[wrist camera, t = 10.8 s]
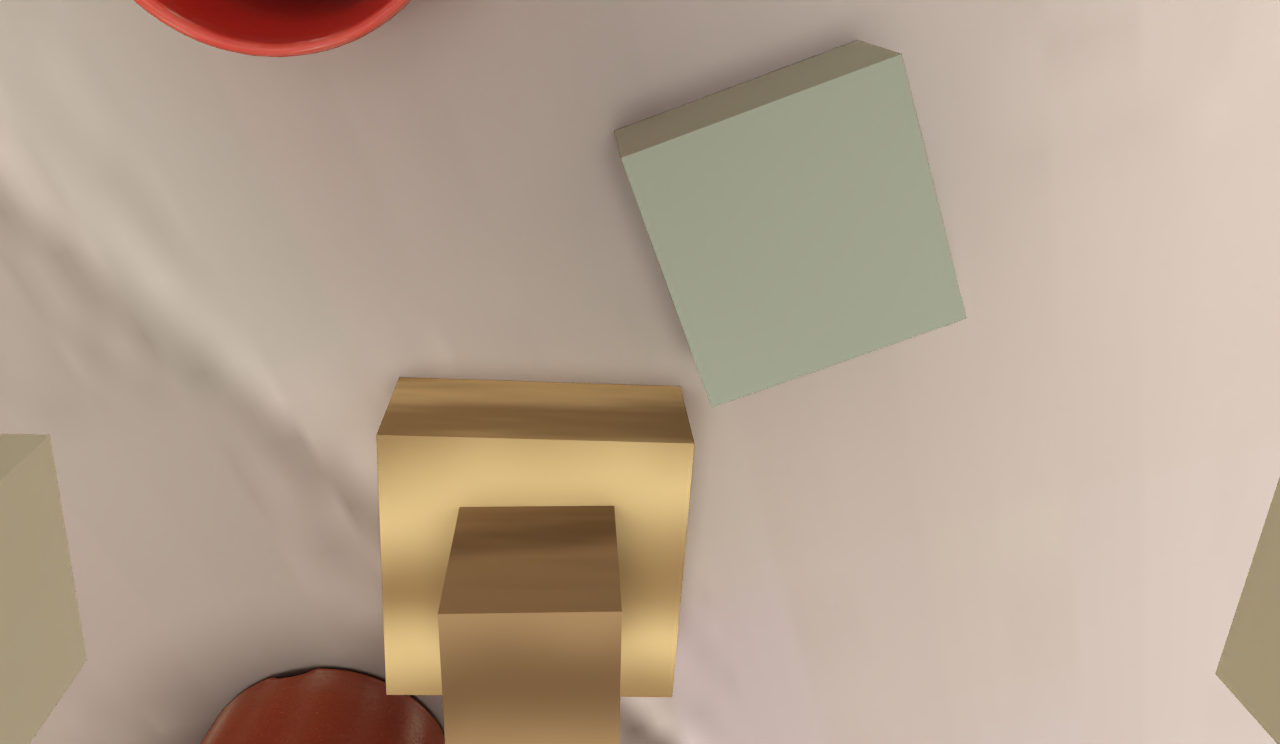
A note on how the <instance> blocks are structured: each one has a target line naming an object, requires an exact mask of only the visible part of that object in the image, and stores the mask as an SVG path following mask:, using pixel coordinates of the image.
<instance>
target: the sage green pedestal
mask: <svg viewBox="0 0 1280 744" xmlns="http://www.w3.org/2000/svg"><path fill="white" fill-rule="evenodd" d="M614 133H615V137H616V141H617V145H618V149H619V153H620V157H621V160H622V163H623V166H624V168H625V171H626V174H627V177H628V179H629V182H630V185H631V188H632V190H633V193H634V196H635V199H636V201H637V204H638V207H639V210H640V212H641V215H642V218H643V221H644V223H645V226H646V229H647V232H648V234H649V237H650V240H651V243H652V245H653V248H654V251H655V253H656V256H657V259H658V262H659V264H660V267H661V270H662V273H663V275H664V278H665V281H666V284H667V286H668V289H669V292H670V295H671V297H672V300H673V303H674V306H675V308H676V311H677V314H678V317H679V319H680V322H681V325H682V328H683V330H684V333H685V336H686V339H687V341H688V344H689V347H690V350H691V352H692V355H693V358H694V361H695V363H696V366H697V369H698V372H699V374H700V377H701V380H702V383H703V385H704V388H705V391H706V394H707V396H708V399H709V402H710V405H711V407H715V406H718V405H721V404H724V403H726V402H729V401H732V400H735V399H738V398H741V397H744V396H746V395H749V394H752V393H755V392H758V391H761V390H764V389H766V388H769V387H772V386H775V385H778V384H781V383H783V382H786V381H789V380H792V379H795V378H798V377H801V376H803V375H806V374H809V373H812V372H815V371H818V370H821V369H823V368H826V367H829V366H832V365H835V364H838V363H840V362H843V361H846V360H849V359H852V358H855V357H858V356H860V355H863V354H866V353H869V352H872V351H875V350H878V349H880V348H883V347H886V346H889V345H892V344H895V343H897V342H900V341H903V340H906V339H909V338H912V337H915V336H917V335H920V334H923V333H926V332H929V331H932V330H935V329H937V328H940V327H943V326H946V325H949V324H952V323H954V322H957V321H960V320H963V319H966V314H965V310H964V305H963V301H962V297H961V293H960V289H959V285H958V281H957V277H956V273H955V269H954V265H953V261H952V257H951V253H950V249H949V245H948V241H947V237H946V233H945V229H944V225H943V220H942V216H941V212H940V208H939V204H938V200H937V196H936V192H935V188H934V184H933V180H932V176H931V172H930V168H929V164H928V160H927V156H926V152H925V148H924V144H923V140H922V136H921V131H920V127H919V123H918V119H917V115H916V111H915V107H914V103H913V99H912V95H911V91H910V87H909V83H908V79H907V75H906V71H905V67H904V63H903V59H902V55H901V54H900V53H897V52H893V51H890V50H887V49H884V48H881V47H877V46H874V45H871V44H868V43H865V42H861V41H858V40H856V41H854V42H851V43H848V44H845V45H843V46H840V47H837V48H835V49H832V50H829V51H827V52H824V53H821V54H819V55H816V56H813V57H811V58H808V59H805V60H803V61H800V62H797V63H795V64H792V65H789V66H787V67H784V68H781V69H779V70H776V71H773V72H771V73H768V74H765V75H762V76H760V77H757V78H754V79H752V80H749V81H746V82H744V83H741V84H738V85H736V86H733V87H730V88H728V89H725V90H722V91H720V92H717V93H714V94H712V95H709V96H706V97H704V98H701V99H698V100H696V101H693V102H690V103H687V104H685V105H682V106H679V107H677V108H674V109H671V110H669V111H666V112H663V113H661V114H658V115H655V116H653V117H650V118H647V119H645V120H642V121H639V122H637V123H634V124H631V125H629V126H626V127H623V128H621V129H618V130H615V131H614Z"/></svg>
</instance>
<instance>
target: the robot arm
mask: <svg viewBox="0 0 1280 744" xmlns="http://www.w3.org/2000/svg"><path fill="white" fill-rule="evenodd" d="M86 661H87V658H86V652H85V645H84V639H83V633H82V627H81V621H80V615H79V609H78V603H77V597H76V591H75V585H74V579H73V573H72V567H71V561H70V555H69V548H68V542H67V536H66V530H65V524H64V518H63V512H62V506H61V500H60V494H59V488H58V482H57V476H56V470H55V464H54V458H53V452H52V445H51V439H50V435H31V434H0V744H30V742H31V741H32V740H33V738H34V737H35V735H36V734H37V732H38V731H39V729H40V728H41V726H42V725H43V723H44V722H45V721H46V719H47V718H48V716H49V715H50V713H51V712H52V710H53V709H54V707H55V706H56V704H57V703H58V702H59V700H60V699H61V697H62V696H63V694H64V693H65V691H66V690H67V688H68V687H69V685H70V684H71V682H72V681H73V680H74V678H75V677H76V675H77V674H78V672H79V671H80V669H81V668H82V666H83V665H84V663H85V662H86ZM1216 675H1217V676H1218V677H1219V679H1220V680H1221V681H1222V682H1223V683H1224V684H1225V685H1226V686H1227V688H1228V689H1229V690H1230V691H1231V692H1232V693H1233V694H1234V695H1235V697H1236V698H1237V699H1238V700H1239V701H1240V702H1241V703H1242V704H1243V706H1244V707H1245V708H1246V709H1247V710H1248V711H1249V712H1250V713H1251V715H1252V716H1253V717H1254V718H1255V719H1256V720H1257V721H1258V722H1259V724H1260V725H1261V726H1262V727H1263V728H1264V729H1265V730H1266V731H1267V733H1268V734H1269V735H1270V736H1271V737H1272V738H1273V739H1274V740H1275V742H1276V743H1277V744H1280V478H1279V481H1278V484H1277V487H1276V490H1275V493H1274V496H1273V499H1272V502H1271V505H1270V509H1269V512H1268V515H1267V518H1266V521H1265V524H1264V527H1263V530H1262V533H1261V536H1260V539H1259V542H1258V545H1257V548H1256V551H1255V554H1254V557H1253V561H1252V564H1251V567H1250V570H1249V573H1248V576H1247V579H1246V582H1245V585H1244V588H1243V591H1242V594H1241V597H1240V600H1239V603H1238V606H1237V609H1236V613H1235V616H1234V619H1233V622H1232V625H1231V628H1230V631H1229V634H1228V637H1227V640H1226V643H1225V646H1224V649H1223V652H1222V655H1221V658H1220V661H1219V665H1218V668H1217V671H1216Z"/></svg>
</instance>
